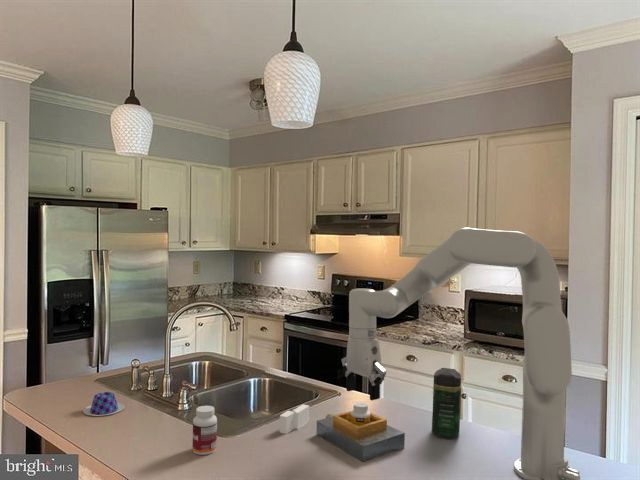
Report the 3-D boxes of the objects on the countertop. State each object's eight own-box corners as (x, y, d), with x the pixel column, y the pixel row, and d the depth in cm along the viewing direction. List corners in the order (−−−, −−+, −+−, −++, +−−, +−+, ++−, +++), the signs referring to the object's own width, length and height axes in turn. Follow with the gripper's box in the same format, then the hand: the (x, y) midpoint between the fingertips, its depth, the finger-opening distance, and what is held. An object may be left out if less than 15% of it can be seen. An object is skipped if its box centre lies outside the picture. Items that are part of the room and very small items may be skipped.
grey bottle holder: (404, 447, 130) (405, 423, 130) (363, 461, 121) (363, 436, 121) (347, 419, 149) (348, 398, 149) (308, 429, 140) (308, 407, 140)
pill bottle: (190, 447, 127) (191, 405, 127) (214, 443, 129) (215, 403, 129) (193, 457, 121) (195, 414, 121) (218, 453, 124) (219, 411, 124)
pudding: (127, 414, 150) (127, 397, 150) (85, 420, 144) (85, 403, 144) (121, 402, 160) (121, 386, 160) (81, 408, 154) (81, 391, 154)
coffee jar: (459, 442, 135) (461, 376, 135) (430, 437, 137) (432, 372, 137) (460, 429, 144) (462, 367, 144) (433, 425, 146) (435, 364, 146)
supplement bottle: (353, 446, 130) (354, 408, 130) (347, 437, 136) (348, 401, 136) (372, 444, 132) (373, 407, 132) (365, 436, 137) (366, 400, 137)
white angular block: (308, 418, 151) (308, 400, 151) (323, 432, 140) (323, 412, 140) (262, 424, 145) (263, 405, 145) (274, 439, 134) (275, 419, 134)
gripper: (394, 336, 129) (394, 400, 129) (352, 327, 143) (352, 384, 142) (374, 340, 124) (374, 406, 124) (332, 330, 138) (332, 389, 138)
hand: (362, 394), depth 133 cm, fingers open, 9 cm apart
